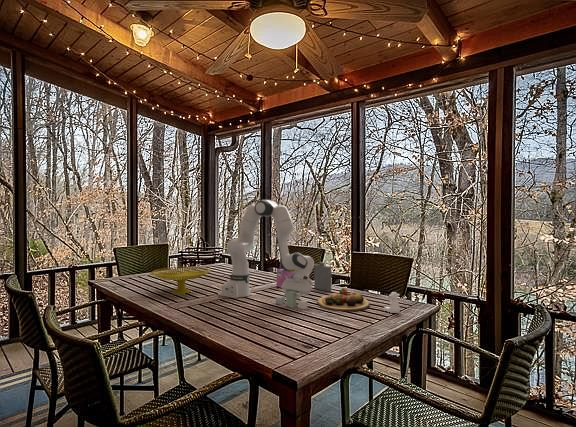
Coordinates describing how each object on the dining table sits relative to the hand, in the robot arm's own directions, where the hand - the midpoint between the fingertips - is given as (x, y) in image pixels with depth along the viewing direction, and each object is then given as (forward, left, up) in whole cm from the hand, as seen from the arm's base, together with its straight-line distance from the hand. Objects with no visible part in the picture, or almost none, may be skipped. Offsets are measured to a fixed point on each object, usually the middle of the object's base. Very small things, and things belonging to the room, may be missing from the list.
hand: (290, 297), depth 215 cm
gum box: (-18, +54, -5) cm, 57 cm away
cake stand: (-83, +6, -5) cm, 83 cm away
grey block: (-8, +3, -5) cm, 10 cm away
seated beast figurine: (+60, +8, -5) cm, 61 cm away
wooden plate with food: (+30, +15, -6) cm, 33 cm away
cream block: (+8, -2, -5) cm, 10 cm away
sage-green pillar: (0, +1, -5) cm, 5 cm away
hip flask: (+8, +49, -5) cm, 50 cm away
